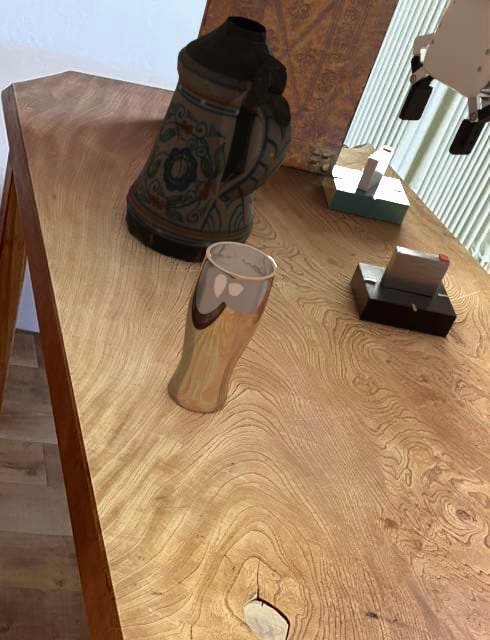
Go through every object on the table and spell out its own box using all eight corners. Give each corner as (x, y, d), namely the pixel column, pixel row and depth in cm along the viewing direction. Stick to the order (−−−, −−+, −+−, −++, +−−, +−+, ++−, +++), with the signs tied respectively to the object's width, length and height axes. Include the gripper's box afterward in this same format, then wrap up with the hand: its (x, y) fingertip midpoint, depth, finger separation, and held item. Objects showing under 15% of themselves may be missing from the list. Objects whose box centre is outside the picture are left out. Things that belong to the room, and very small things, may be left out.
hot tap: (382, 286, 109) (399, 250, 105) (380, 279, 110) (396, 244, 106) (433, 297, 109) (451, 261, 106) (430, 290, 110) (448, 255, 107)
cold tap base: (329, 211, 129) (338, 190, 127) (321, 181, 137) (329, 160, 135) (402, 227, 130) (411, 206, 128) (389, 196, 138) (398, 176, 136)
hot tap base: (360, 323, 107) (370, 300, 105) (348, 280, 115) (358, 257, 113) (447, 341, 108) (459, 319, 106) (429, 297, 116) (440, 275, 114)
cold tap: (366, 191, 129) (379, 159, 126) (356, 187, 130) (369, 154, 126) (381, 180, 133) (394, 148, 130) (371, 176, 134) (384, 144, 131)
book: (172, 138, 138) (229, -92, 117) (176, 118, 145) (231, -104, 124) (331, 177, 139) (416, -45, 118) (328, 155, 145) (408, -59, 124)
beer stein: (162, 191, 124) (213, -12, 106) (285, 249, 118) (360, 44, 100) (97, 224, 113) (142, 4, 95) (229, 290, 107) (302, 69, 90)
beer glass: (229, 382, 93) (277, 249, 83) (230, 422, 88) (281, 286, 78) (164, 368, 93) (204, 233, 82) (161, 407, 88) (204, 269, 77)
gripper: (584, 8, 95) (502, 168, 106) (476, -43, 105) (412, 107, 117) (535, 3, 91) (456, 168, 103) (428, -49, 102) (368, 106, 114)
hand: (433, 136), depth 110 cm, fingers open, 9 cm apart
